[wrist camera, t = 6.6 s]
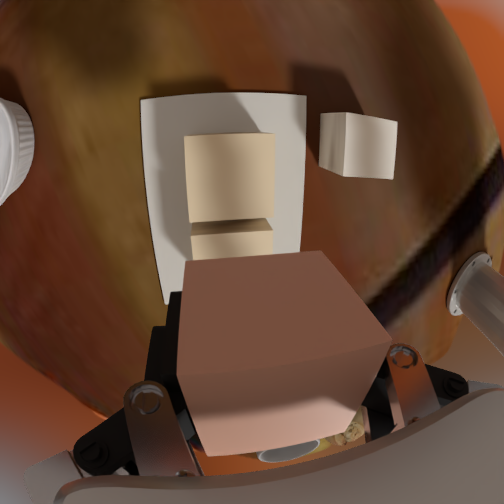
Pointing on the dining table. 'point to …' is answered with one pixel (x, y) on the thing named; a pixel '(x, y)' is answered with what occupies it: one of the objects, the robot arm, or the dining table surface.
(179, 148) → the felt mat
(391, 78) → the dining table surface
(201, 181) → the maple block
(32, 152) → the ramekin
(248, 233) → the maple block
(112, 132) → the dining table surface
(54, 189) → the dining table surface
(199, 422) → the terracotta cube
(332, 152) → the birch cube
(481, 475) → the robot arm
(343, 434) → the bread roll
